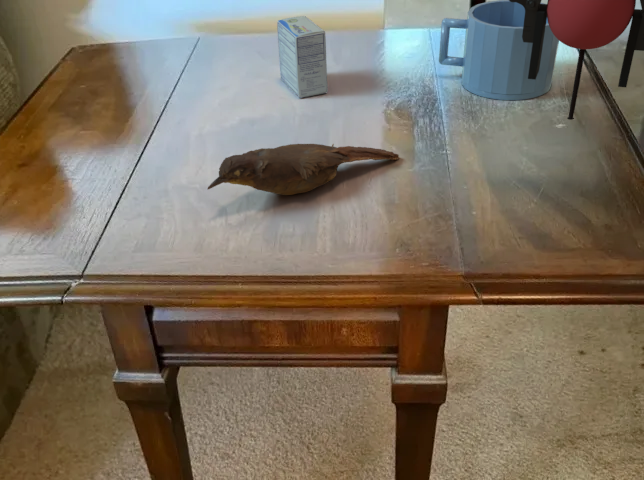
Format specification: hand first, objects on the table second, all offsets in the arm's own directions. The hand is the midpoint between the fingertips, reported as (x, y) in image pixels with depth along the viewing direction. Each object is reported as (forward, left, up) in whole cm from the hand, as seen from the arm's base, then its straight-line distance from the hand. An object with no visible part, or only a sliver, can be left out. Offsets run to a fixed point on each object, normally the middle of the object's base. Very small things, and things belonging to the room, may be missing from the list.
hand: (577, 77), depth 76 cm
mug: (+12, -28, -12) cm, 33 cm away
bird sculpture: (+26, +8, -12) cm, 30 cm away
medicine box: (+37, -19, -12) cm, 44 cm away
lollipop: (0, 0, -4) cm, 4 cm away
